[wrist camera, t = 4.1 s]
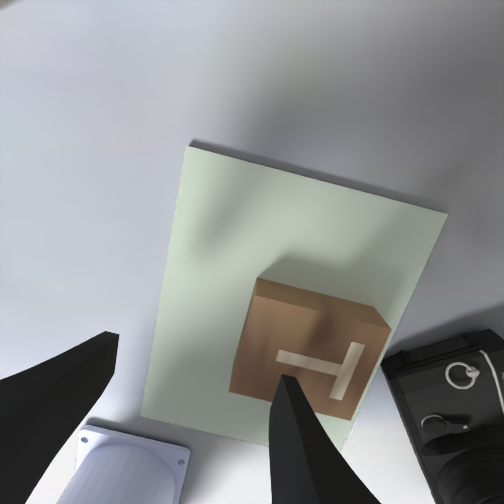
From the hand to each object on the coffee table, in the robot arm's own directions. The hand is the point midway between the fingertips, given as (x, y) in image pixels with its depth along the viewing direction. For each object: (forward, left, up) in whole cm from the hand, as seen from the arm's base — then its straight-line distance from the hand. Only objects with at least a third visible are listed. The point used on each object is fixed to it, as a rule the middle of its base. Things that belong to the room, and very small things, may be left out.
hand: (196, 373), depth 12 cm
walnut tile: (0, -2, -4) cm, 4 cm away
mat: (0, -3, -5) cm, 6 cm away
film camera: (-3, -17, -6) cm, 18 cm away
